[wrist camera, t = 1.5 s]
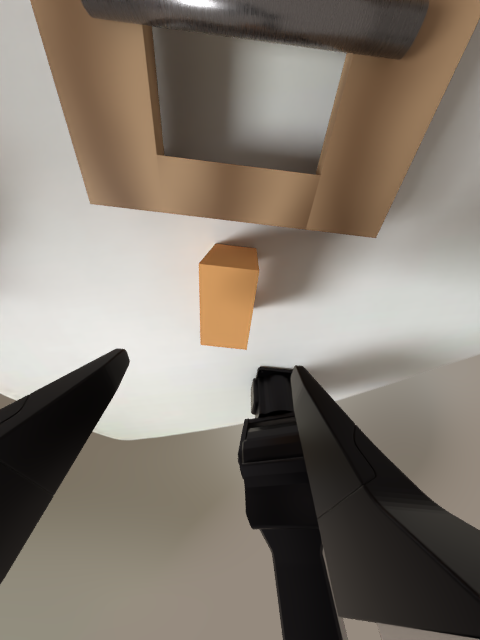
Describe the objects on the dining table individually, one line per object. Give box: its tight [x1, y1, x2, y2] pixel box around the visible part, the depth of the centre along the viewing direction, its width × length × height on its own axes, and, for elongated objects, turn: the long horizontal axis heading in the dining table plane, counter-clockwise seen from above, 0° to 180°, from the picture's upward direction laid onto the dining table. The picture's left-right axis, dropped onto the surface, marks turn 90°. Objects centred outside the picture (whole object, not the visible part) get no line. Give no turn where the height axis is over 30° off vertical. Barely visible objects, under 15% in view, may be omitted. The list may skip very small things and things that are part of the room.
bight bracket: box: [199, 244, 259, 350], centre depth 17 cm, size 4×7×7 cm, turn 174°
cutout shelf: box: [30, 0, 480, 238], centre depth 10 cm, size 20×16×6 cm
